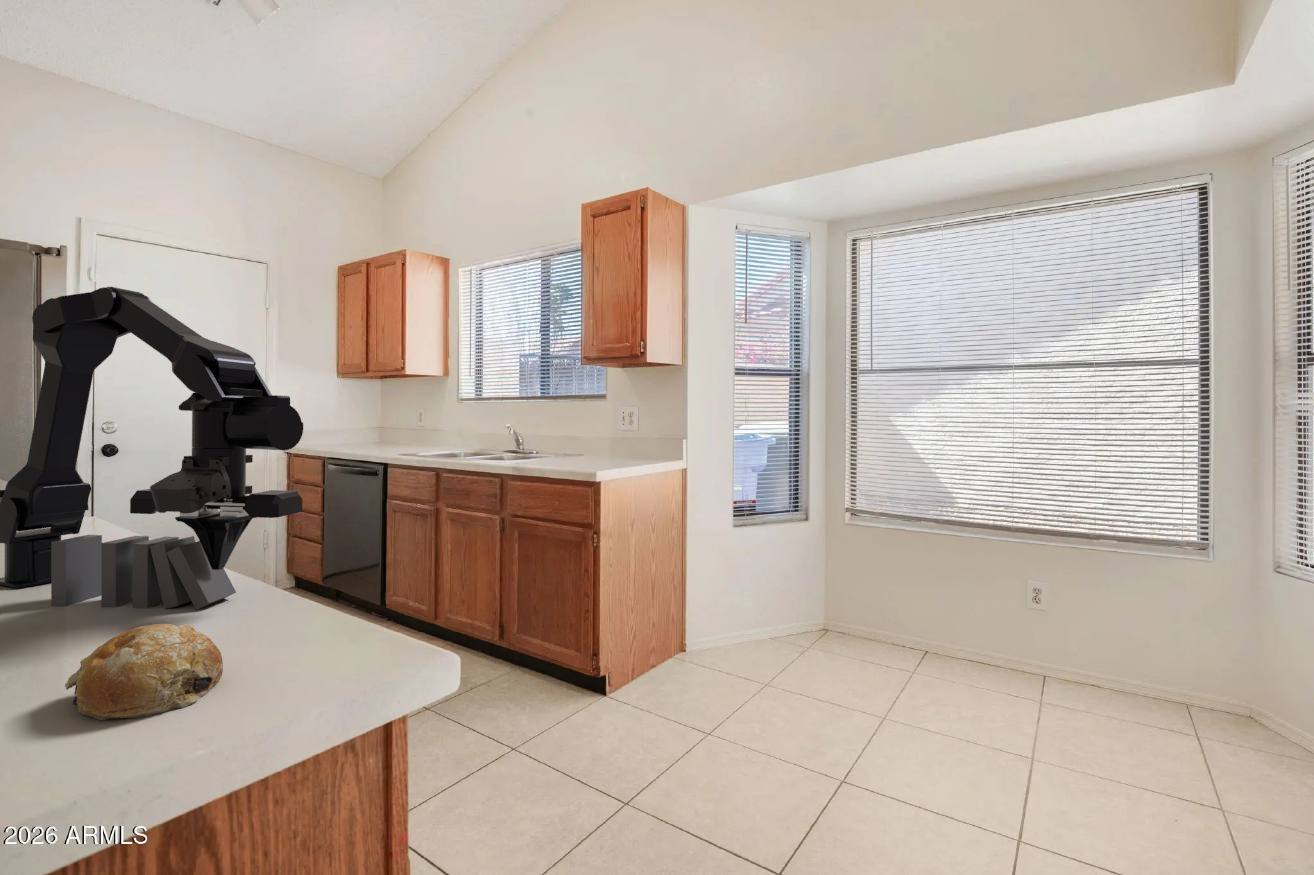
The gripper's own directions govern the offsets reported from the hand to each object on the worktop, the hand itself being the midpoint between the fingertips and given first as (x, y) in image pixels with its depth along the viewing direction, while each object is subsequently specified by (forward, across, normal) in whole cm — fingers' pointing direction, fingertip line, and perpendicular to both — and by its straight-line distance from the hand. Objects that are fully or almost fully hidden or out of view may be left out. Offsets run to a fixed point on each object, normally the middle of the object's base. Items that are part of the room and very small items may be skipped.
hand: (218, 569), depth 81 cm
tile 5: (+4, 0, 0) cm, 4 cm away
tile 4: (+4, -4, 0) cm, 6 cm away
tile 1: (+5, -18, 0) cm, 19 cm away
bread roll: (+5, +13, -26) cm, 29 cm away
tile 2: (+5, -12, 0) cm, 13 cm away
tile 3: (+4, -8, 0) cm, 9 cm away
